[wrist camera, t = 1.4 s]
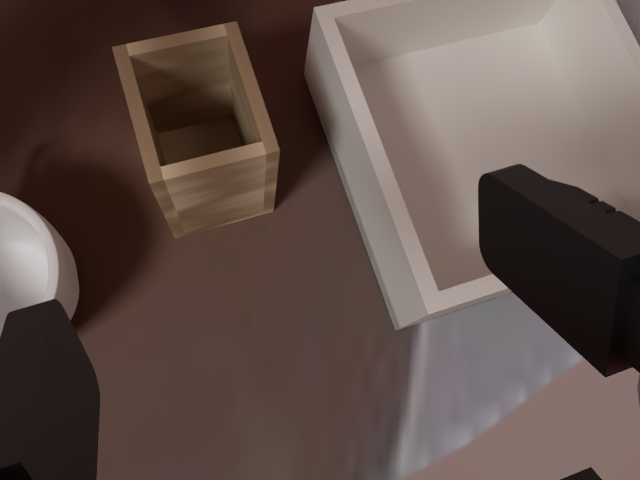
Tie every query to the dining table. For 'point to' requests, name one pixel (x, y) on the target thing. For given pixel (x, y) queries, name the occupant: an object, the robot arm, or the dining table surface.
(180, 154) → the small wooden crate
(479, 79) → the big plastic crate
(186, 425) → the dining table surface
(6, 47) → the dining table surface
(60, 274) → the teacup
